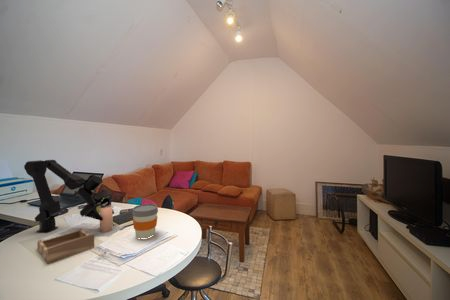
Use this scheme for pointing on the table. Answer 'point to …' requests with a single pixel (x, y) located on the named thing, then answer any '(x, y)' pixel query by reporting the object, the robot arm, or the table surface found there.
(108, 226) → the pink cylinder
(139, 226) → the reusable coffee cup
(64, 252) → the open wooden box
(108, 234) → the grey mat
